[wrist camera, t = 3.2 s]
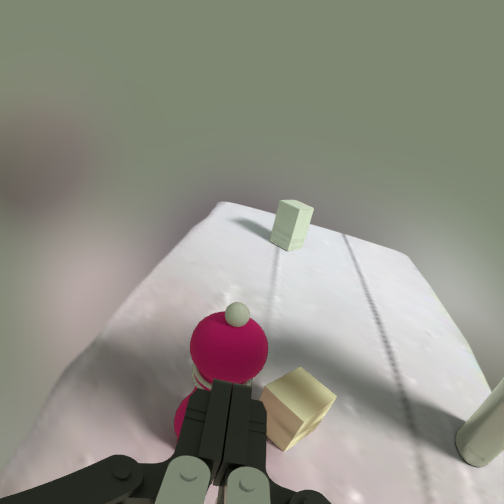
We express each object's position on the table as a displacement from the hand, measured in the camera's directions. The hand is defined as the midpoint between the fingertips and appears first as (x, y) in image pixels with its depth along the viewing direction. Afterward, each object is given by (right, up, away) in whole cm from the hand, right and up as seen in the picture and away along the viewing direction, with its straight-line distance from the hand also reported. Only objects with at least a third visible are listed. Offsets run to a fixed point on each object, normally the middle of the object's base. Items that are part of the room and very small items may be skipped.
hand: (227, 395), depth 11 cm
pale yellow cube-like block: (+5, -16, +23) cm, 28 cm away
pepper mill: (-4, -16, +18) cm, 25 cm away
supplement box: (+11, +8, +79) cm, 80 cm away
